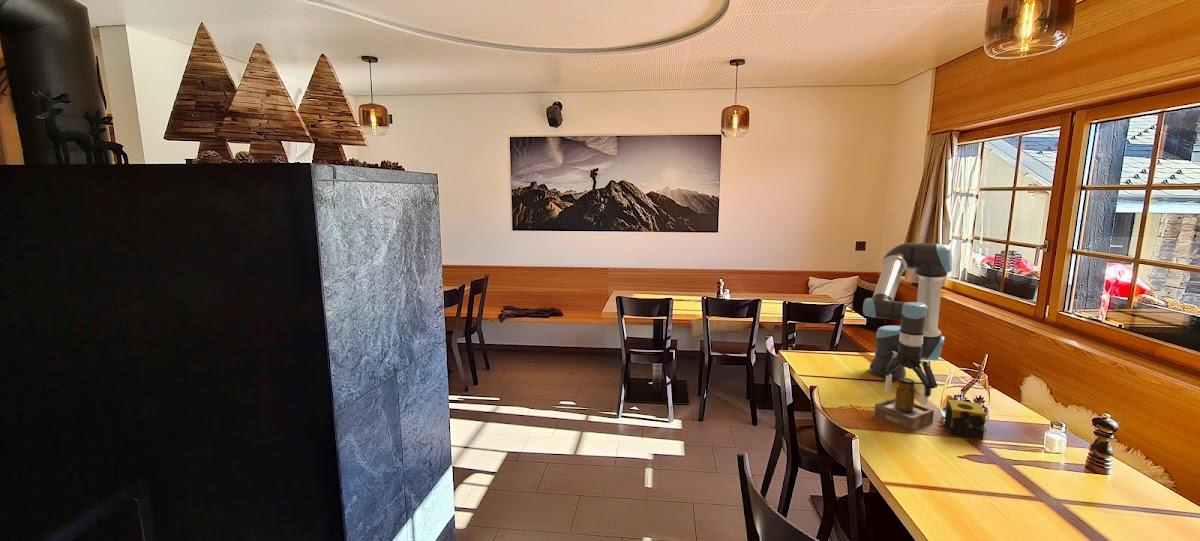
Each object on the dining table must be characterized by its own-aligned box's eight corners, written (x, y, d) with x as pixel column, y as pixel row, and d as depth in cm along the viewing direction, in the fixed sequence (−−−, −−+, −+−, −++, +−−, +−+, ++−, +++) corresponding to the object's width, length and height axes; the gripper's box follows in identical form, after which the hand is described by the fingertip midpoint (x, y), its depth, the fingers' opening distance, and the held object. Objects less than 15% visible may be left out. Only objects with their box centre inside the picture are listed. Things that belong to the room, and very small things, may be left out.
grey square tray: (895, 408, 198) (896, 396, 197) (932, 423, 186) (933, 410, 185) (873, 416, 191) (875, 404, 191) (910, 431, 179) (912, 418, 178)
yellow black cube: (976, 428, 182) (979, 403, 180) (984, 440, 173) (987, 414, 171) (943, 423, 186) (946, 398, 185) (949, 435, 177) (952, 409, 176)
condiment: (897, 404, 193) (900, 375, 191) (922, 411, 186) (925, 381, 184) (890, 409, 188) (893, 379, 186) (914, 417, 182) (918, 386, 180)
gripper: (872, 336, 193) (868, 387, 196) (940, 354, 171) (934, 412, 175) (884, 333, 196) (879, 384, 200) (952, 351, 175) (946, 407, 178)
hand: (905, 397), depth 187 cm, fingers open, 13 cm apart
